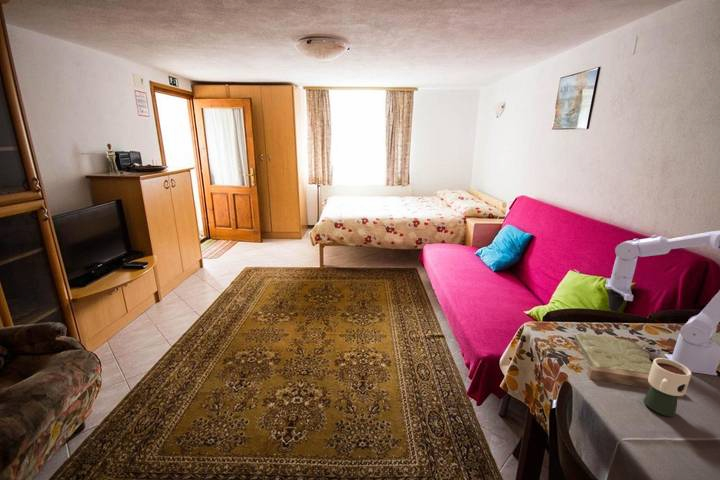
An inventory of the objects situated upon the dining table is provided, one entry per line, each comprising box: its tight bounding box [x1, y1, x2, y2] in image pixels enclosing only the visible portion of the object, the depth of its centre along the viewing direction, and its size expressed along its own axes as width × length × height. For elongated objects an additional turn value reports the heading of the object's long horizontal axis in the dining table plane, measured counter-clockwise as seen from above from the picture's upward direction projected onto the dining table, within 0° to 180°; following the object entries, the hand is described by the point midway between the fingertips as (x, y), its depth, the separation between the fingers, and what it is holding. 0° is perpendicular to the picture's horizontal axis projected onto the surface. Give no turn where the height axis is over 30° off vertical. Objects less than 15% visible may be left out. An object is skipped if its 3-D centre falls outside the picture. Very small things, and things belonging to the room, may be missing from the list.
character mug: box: [643, 357, 693, 417], centre depth 84 cm, size 11×7×13 cm, turn 127°
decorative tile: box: [573, 333, 653, 374], centre depth 104 cm, size 19×20×4 cm
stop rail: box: [586, 365, 651, 389], centre depth 94 cm, size 22×2×3 cm, turn 76°
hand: (613, 310), depth 116 cm, fingers closed
